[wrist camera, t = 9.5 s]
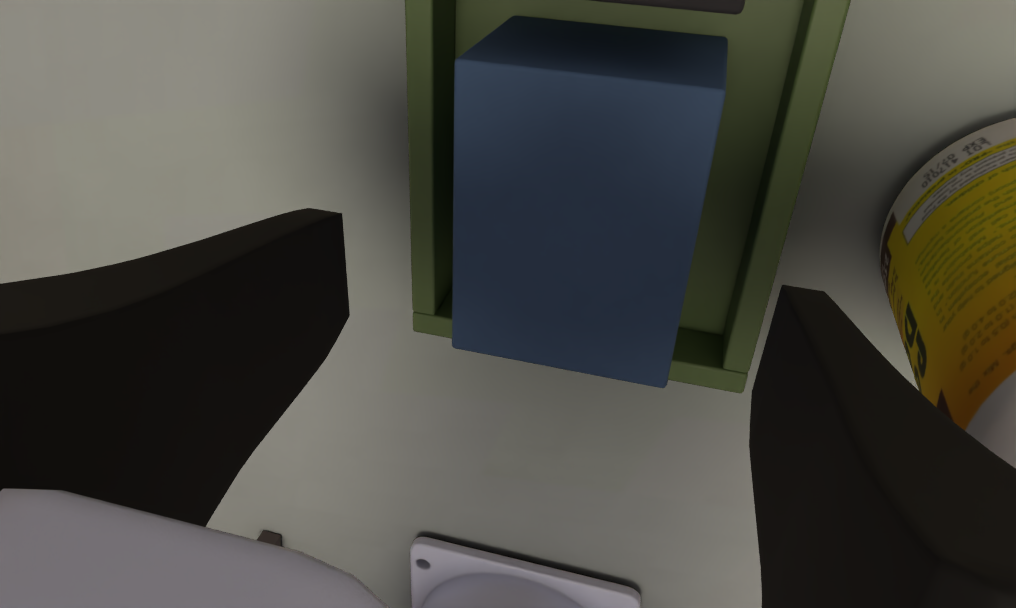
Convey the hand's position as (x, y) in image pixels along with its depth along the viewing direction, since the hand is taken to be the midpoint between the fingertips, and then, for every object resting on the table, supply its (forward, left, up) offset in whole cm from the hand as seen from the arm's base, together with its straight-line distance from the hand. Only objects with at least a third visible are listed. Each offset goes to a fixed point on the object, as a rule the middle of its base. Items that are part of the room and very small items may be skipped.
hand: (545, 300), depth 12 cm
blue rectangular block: (0, 0, -6) cm, 6 cm away
